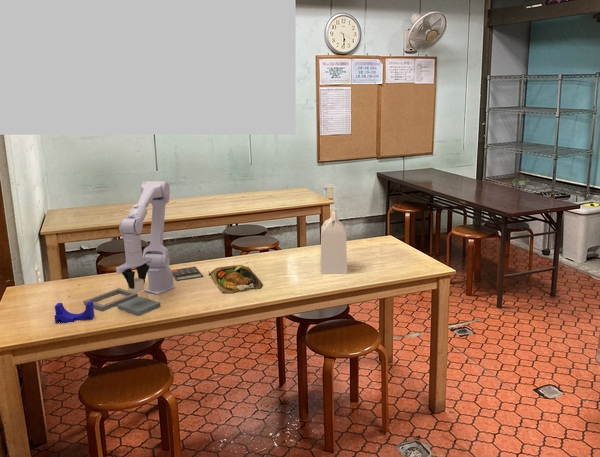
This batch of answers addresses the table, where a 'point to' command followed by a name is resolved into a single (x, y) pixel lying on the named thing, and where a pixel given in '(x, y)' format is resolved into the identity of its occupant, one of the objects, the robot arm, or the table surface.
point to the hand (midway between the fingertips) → (136, 286)
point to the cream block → (137, 285)
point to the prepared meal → (235, 278)
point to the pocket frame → (128, 295)
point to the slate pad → (138, 305)
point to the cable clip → (66, 316)
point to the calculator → (186, 273)
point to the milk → (333, 247)
